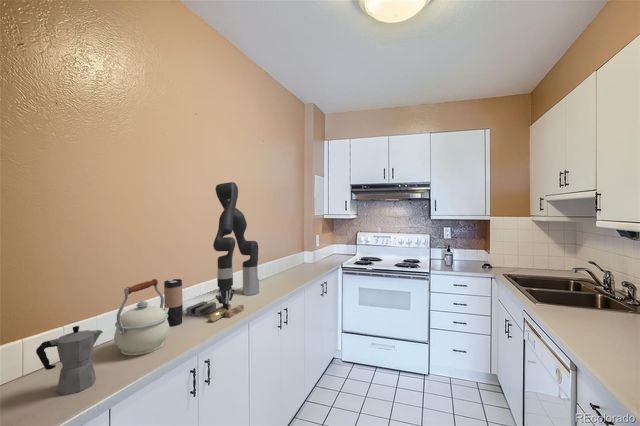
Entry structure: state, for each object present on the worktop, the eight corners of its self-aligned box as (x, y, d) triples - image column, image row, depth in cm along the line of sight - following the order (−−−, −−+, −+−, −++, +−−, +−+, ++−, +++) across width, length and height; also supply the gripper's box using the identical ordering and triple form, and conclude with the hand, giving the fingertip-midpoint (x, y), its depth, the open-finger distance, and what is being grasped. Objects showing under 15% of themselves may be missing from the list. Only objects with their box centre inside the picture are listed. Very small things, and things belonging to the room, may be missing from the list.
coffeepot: (100, 371, 99) (99, 316, 99) (107, 382, 92) (106, 323, 92) (35, 392, 87) (34, 331, 87) (38, 406, 81) (37, 340, 81)
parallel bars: (226, 308, 162) (226, 303, 162) (243, 310, 158) (243, 305, 158) (211, 315, 150) (211, 310, 150) (229, 317, 147) (229, 313, 147)
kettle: (141, 363, 104) (140, 291, 103) (97, 359, 107) (95, 289, 107) (187, 334, 128) (186, 275, 128) (150, 331, 132) (149, 274, 132)
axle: (220, 313, 152) (222, 306, 151) (226, 316, 150) (228, 310, 150) (207, 320, 142) (209, 313, 142) (213, 323, 141) (215, 316, 141)
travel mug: (178, 326, 137) (177, 282, 136) (161, 326, 137) (160, 282, 137) (185, 320, 144) (185, 278, 144) (170, 320, 144) (169, 279, 144)
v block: (203, 307, 163) (202, 301, 163) (216, 309, 160) (216, 302, 160) (186, 315, 152) (186, 308, 152) (200, 316, 149) (200, 309, 149)
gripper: (227, 273, 160) (227, 306, 160) (210, 279, 148) (210, 314, 148) (239, 274, 158) (239, 307, 158) (223, 280, 145) (223, 315, 145)
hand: (225, 310), depth 153 cm, fingers closed
